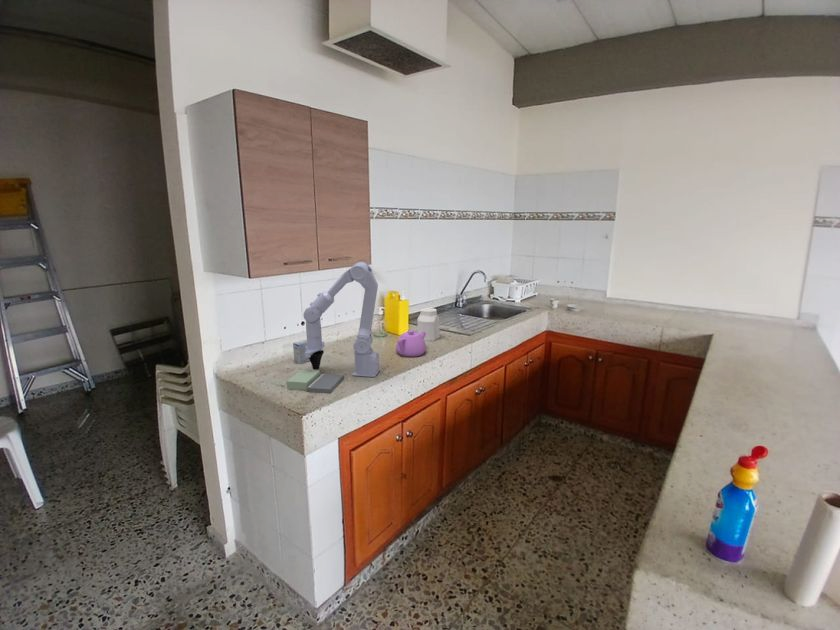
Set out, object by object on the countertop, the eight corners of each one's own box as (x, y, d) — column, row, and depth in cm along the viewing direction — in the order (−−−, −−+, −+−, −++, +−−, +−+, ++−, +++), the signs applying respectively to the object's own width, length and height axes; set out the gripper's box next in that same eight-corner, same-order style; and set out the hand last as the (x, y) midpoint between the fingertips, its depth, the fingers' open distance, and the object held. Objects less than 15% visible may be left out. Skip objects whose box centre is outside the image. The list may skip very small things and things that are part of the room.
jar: (431, 342, 209) (431, 312, 205) (414, 339, 213) (414, 310, 210) (441, 336, 219) (442, 308, 215) (425, 334, 223) (425, 306, 220)
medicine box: (309, 357, 187) (308, 338, 185) (315, 359, 184) (314, 340, 182) (294, 362, 181) (292, 342, 179) (300, 364, 178) (298, 344, 176)
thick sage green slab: (320, 378, 163) (319, 370, 162) (307, 390, 152) (306, 382, 151) (301, 376, 164) (301, 369, 164) (287, 388, 153) (286, 381, 152)
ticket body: (344, 378, 162) (343, 374, 162) (330, 393, 149) (330, 389, 149) (322, 377, 164) (321, 373, 164) (306, 391, 151) (306, 387, 150)
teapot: (436, 349, 198) (436, 327, 195) (411, 361, 182) (411, 337, 179) (412, 344, 206) (412, 323, 203) (386, 355, 190) (386, 332, 187)
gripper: (312, 331, 173) (314, 362, 176) (296, 341, 159) (298, 374, 162) (328, 331, 171) (330, 363, 174) (313, 342, 157) (316, 376, 161)
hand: (316, 368), depth 168 cm, fingers closed
